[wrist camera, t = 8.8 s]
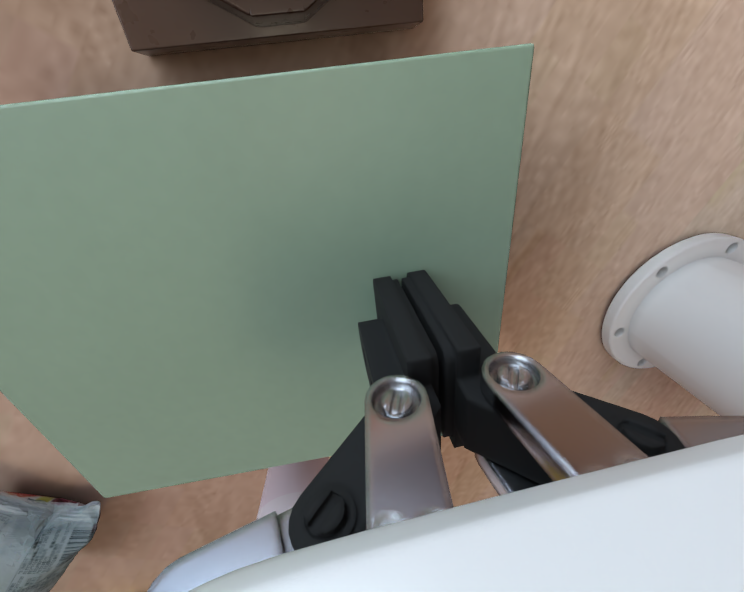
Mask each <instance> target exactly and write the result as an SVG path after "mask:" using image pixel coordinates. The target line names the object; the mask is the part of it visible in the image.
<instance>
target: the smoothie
mask: <svg viewBox="0 0 744 592" xmlns="http://www.w3.org/2000/svg"><path fill="white" fill-rule="evenodd" d="M328 460H329V458H328V457H324V458H319V459H313V460H308V461H303V462H297V463H292V464H287V465H281V466H276V467H270V468H268V472H267V477H266V481H265V485H264V490H263V494H262V498H261V503H260V507H259V511H258V515H257V519H256V520H258V519H260V518H262V517H264V516H266V515H268V514H270V513H272V512H274V511H276V513H277V515H279V514H281V513H283V512H285V511H287V510H289V509H291V508H293V506H294V505H295V503H296V501H297V500H298V498H299V496H300V495H301V494H302V493H303V491H304V490H305V489H306V488H307V486H308V485H309V484H310V483H311V481H312V480H313V479H314V478H315V476H316V475H317V474H318V473H319V472H320V470H321V469H322V468H323V467H324V465H325V464H326V463H327V462H328Z"/></svg>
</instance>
